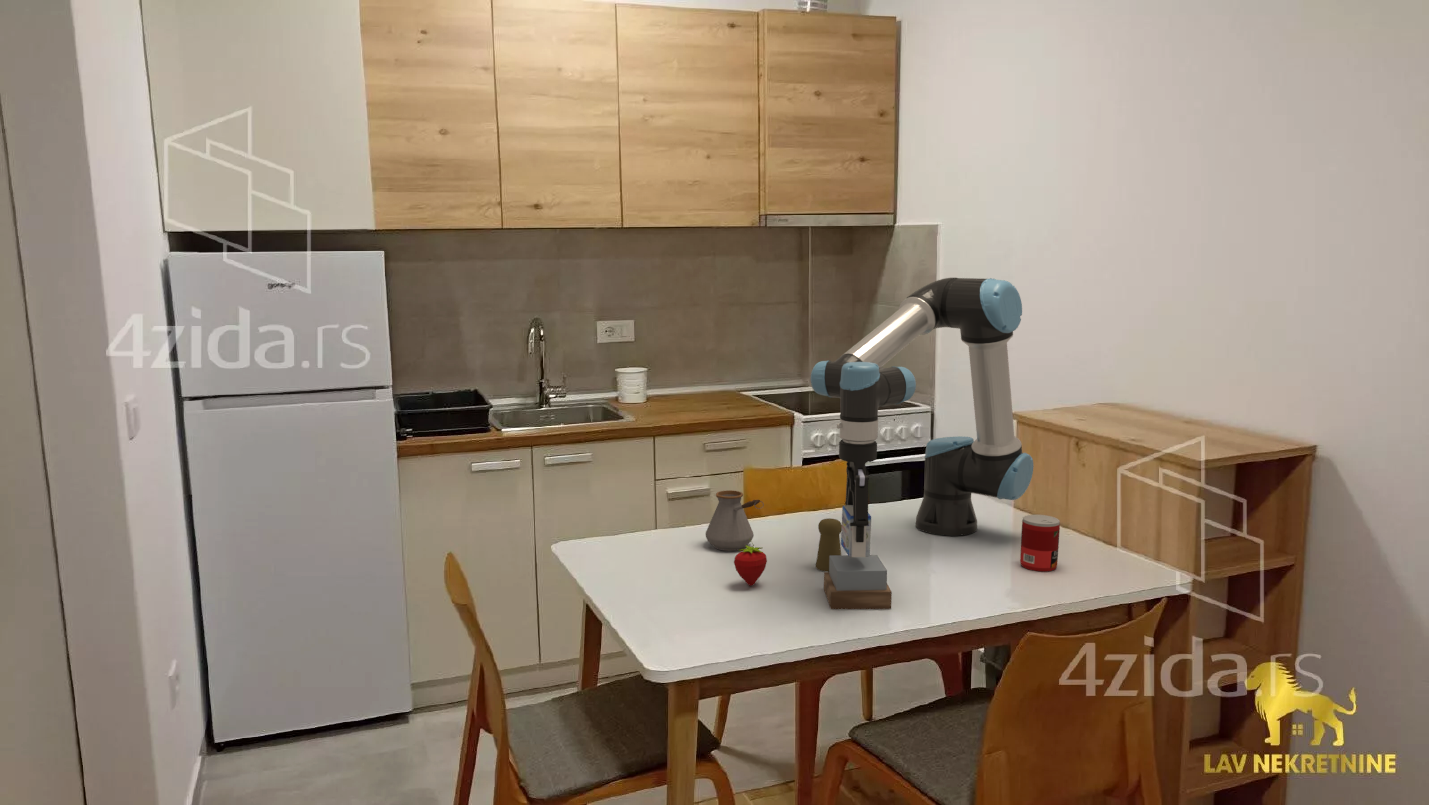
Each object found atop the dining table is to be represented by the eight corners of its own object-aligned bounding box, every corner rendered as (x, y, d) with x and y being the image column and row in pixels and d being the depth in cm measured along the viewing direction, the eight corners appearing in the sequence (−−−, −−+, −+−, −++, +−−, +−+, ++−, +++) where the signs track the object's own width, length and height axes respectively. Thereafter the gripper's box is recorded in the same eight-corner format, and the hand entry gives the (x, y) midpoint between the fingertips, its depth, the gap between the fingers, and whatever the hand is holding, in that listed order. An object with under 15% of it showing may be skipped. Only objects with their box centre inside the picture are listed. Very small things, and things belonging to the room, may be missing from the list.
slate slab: (829, 574, 213) (829, 555, 212) (876, 573, 213) (877, 554, 212) (836, 590, 203) (837, 571, 202) (886, 590, 203) (887, 570, 202)
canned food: (1059, 573, 224) (1062, 524, 222) (1021, 570, 226) (1024, 522, 224) (1054, 562, 231) (1057, 515, 230) (1018, 560, 233) (1020, 513, 231)
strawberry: (727, 585, 216) (727, 539, 214) (755, 578, 220) (756, 533, 219) (744, 593, 211) (744, 546, 210) (773, 586, 216) (773, 540, 214)
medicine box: (840, 545, 211) (841, 504, 209) (861, 545, 211) (862, 504, 210) (848, 557, 203) (849, 515, 202) (870, 557, 204) (871, 515, 202)
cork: (825, 573, 224) (826, 524, 222) (810, 565, 229) (811, 518, 227) (848, 569, 226) (849, 521, 224) (832, 561, 232) (833, 514, 230)
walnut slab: (823, 590, 214) (824, 572, 214) (880, 590, 214) (881, 572, 214) (830, 611, 202) (831, 592, 202) (891, 611, 203) (891, 592, 202)
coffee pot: (697, 542, 246) (697, 481, 243) (740, 536, 250) (740, 477, 248) (736, 568, 227) (736, 503, 224) (781, 562, 231) (782, 497, 229)
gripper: (833, 429, 214) (831, 534, 218) (846, 451, 193) (843, 566, 197) (869, 429, 214) (866, 534, 217) (885, 451, 193) (882, 566, 197)
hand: (855, 549), depth 207 cm, fingers closed on medicine box, 8 cm apart
